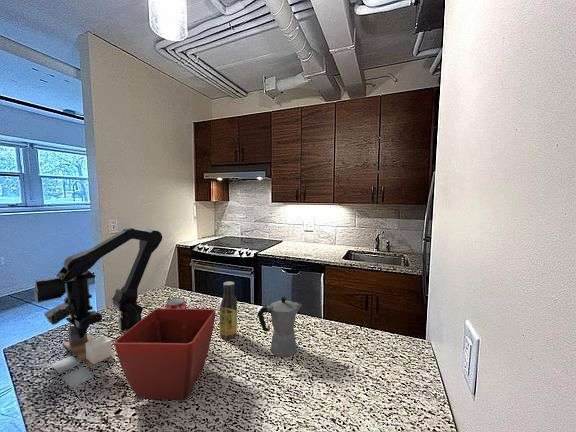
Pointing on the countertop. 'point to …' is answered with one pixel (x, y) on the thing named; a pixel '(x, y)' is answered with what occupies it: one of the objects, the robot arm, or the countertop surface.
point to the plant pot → (166, 352)
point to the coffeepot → (281, 326)
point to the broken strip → (75, 376)
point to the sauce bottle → (228, 312)
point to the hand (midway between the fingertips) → (81, 337)
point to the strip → (80, 345)
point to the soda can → (176, 303)
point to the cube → (98, 349)
